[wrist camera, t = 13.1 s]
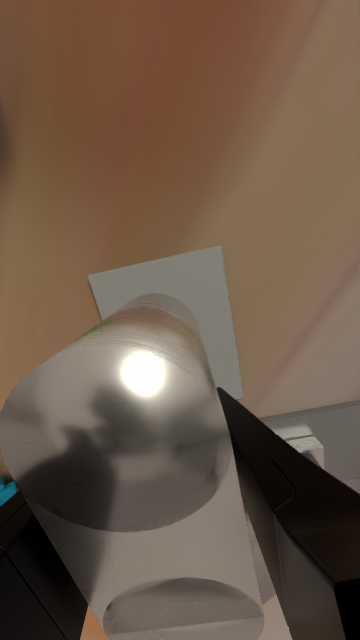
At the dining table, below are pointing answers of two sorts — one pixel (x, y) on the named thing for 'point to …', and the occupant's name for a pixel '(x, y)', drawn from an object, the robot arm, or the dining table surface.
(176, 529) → the chain link
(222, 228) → the dining table surface
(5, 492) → the blue bumpy stand
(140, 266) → the pad
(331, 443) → the rail base
